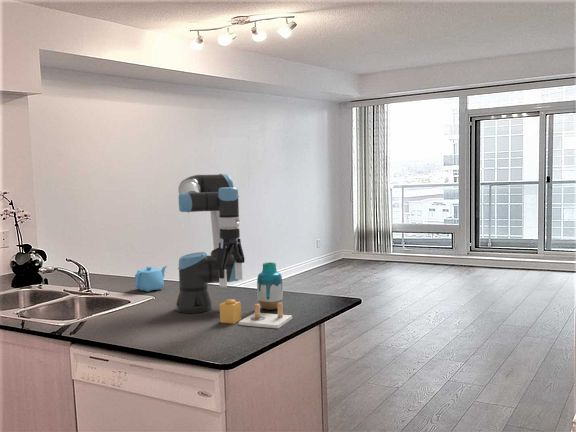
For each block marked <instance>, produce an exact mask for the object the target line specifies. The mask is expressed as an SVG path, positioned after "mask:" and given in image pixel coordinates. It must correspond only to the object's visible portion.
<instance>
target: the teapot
mask: <svg viewBox="0 0 576 432" xmlns="http://www.w3.org/2000/svg"><path fill="white" fill-rule="evenodd" d="M167 267H168V265H164V266H162V268H161V269H158V268H154V267H152V266H146V267H145V268H144V269H138V270H137V271H136V273H135V275H134V279H135V288H136V289H138V290H140V291H143V292H144V291H145V293H148V292H151V291H154V290H155V291H159V290H161V289H164V285H165V282H164V281H165V280H164V279H165V273H166V272H165V271H166V268H167Z"/></svg>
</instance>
